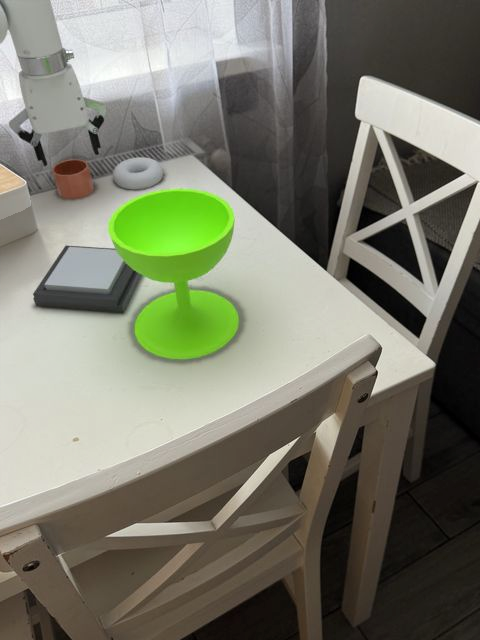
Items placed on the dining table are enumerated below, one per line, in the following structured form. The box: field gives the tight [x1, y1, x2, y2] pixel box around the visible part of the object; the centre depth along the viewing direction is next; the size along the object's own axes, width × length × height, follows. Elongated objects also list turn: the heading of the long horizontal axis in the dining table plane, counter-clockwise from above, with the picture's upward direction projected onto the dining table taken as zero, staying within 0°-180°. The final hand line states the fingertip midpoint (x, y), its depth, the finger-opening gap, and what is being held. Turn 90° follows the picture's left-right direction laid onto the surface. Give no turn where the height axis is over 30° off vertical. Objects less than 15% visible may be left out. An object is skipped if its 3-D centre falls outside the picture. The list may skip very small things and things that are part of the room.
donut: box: [112, 156, 164, 191], centre depth 119 cm, size 10×4×10 cm
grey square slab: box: [45, 247, 126, 295], centre depth 93 cm, size 10×10×2 cm
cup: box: [51, 158, 95, 200], centre depth 115 cm, size 7×7×6 cm
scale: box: [32, 245, 143, 314], centre depth 94 cm, size 14×13×4 cm
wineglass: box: [107, 188, 240, 360], centre depth 82 cm, size 16×16×18 cm
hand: (70, 157), depth 112 cm, fingers open, 9 cm apart
